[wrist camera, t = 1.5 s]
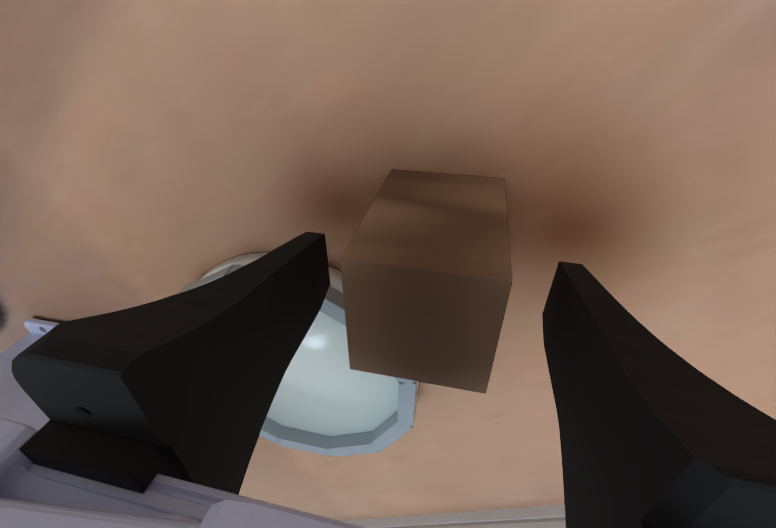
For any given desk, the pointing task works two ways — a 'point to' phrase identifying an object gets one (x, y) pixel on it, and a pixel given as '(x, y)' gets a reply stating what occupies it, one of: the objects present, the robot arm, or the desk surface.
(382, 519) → the grey ribbed box
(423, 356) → the block
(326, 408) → the dish
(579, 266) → the robot arm
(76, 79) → the desk surface
